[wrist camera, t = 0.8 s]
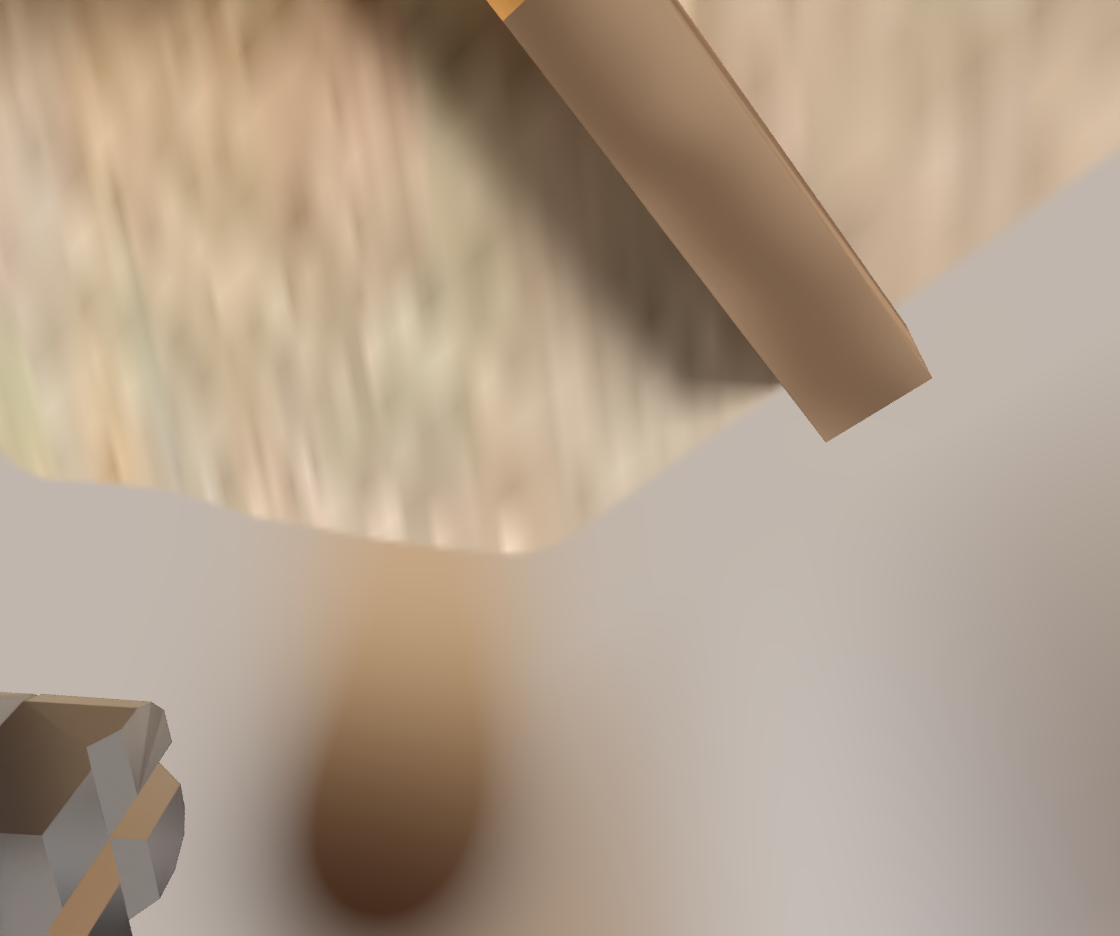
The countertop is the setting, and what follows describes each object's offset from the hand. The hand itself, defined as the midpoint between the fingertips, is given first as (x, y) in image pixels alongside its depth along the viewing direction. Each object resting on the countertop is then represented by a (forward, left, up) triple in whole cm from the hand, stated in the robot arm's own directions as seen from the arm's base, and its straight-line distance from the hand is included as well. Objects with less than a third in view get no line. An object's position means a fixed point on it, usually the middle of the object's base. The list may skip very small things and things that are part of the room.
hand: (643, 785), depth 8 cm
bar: (0, 0, -30) cm, 30 cm away
